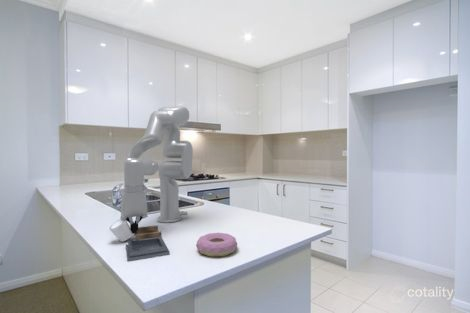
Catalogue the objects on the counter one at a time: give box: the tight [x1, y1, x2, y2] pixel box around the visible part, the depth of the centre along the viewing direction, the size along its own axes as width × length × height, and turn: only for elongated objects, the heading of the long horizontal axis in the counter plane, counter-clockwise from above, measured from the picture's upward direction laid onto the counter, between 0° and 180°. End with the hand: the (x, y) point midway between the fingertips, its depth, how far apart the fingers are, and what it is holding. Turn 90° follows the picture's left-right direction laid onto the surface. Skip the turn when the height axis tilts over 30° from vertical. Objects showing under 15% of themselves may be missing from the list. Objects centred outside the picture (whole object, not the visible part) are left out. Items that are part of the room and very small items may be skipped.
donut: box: [195, 232, 238, 258], centre depth 98 cm, size 16×15×5 cm
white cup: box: [109, 218, 134, 242], centre depth 107 cm, size 7×7×7 cm
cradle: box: [125, 236, 171, 262], centre depth 97 cm, size 14×14×2 cm
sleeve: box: [133, 224, 162, 240], centre depth 113 cm, size 10×11×3 cm
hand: (134, 232), depth 110 cm, fingers closed
